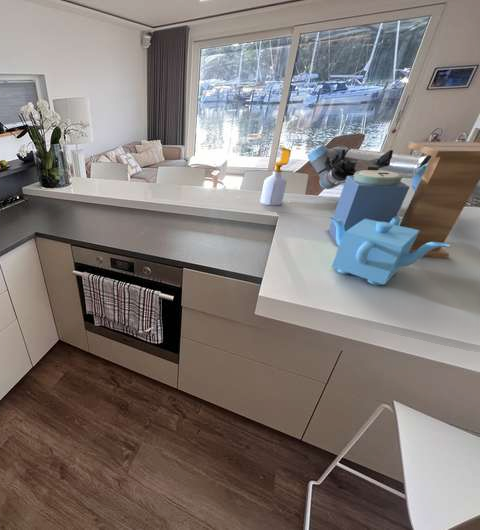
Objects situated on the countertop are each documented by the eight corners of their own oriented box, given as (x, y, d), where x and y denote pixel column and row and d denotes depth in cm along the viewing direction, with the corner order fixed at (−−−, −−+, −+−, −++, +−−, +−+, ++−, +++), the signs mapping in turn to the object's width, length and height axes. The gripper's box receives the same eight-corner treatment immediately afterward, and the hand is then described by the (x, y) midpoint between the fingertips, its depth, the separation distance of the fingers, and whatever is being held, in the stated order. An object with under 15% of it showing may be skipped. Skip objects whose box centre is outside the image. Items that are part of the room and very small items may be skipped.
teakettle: (345, 289, 74) (366, 238, 67) (313, 255, 90) (328, 210, 83) (428, 292, 71) (460, 239, 64) (381, 256, 87) (402, 210, 80)
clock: (340, 168, 102) (343, 160, 101) (378, 169, 99) (382, 160, 97) (359, 184, 85) (363, 174, 84) (406, 186, 81) (411, 175, 80)
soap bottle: (255, 201, 136) (266, 146, 124) (271, 198, 139) (283, 144, 126) (269, 207, 129) (281, 149, 117) (286, 204, 131) (299, 146, 119)
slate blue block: (328, 231, 104) (347, 175, 94) (368, 234, 100) (392, 176, 90) (336, 245, 95) (358, 185, 85) (381, 249, 91) (409, 186, 81)
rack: (371, 233, 101) (409, 142, 86) (421, 237, 96) (471, 141, 81) (389, 254, 88) (438, 151, 73) (448, 259, 83) (514, 150, 68)
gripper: (376, 182, 115) (410, 165, 95) (305, 179, 123) (322, 163, 103) (379, 164, 115) (414, 143, 95) (308, 162, 123) (326, 142, 103)
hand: (366, 153), depth 99 cm, fingers open, 13 cm apart
